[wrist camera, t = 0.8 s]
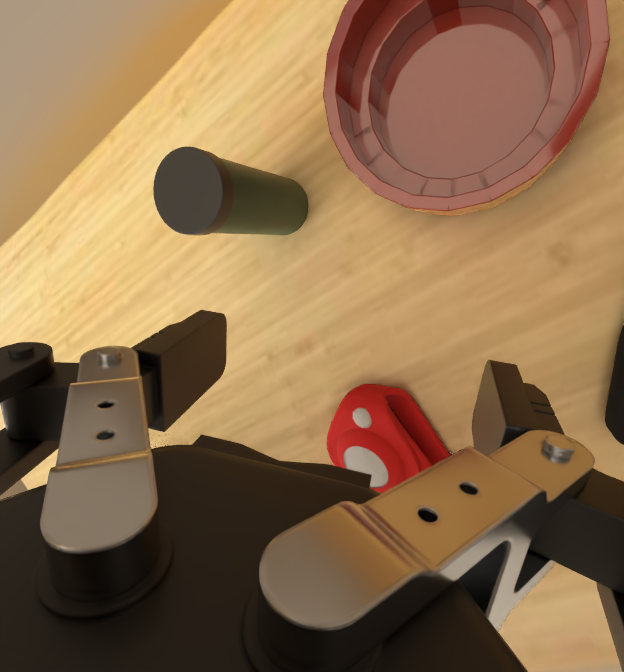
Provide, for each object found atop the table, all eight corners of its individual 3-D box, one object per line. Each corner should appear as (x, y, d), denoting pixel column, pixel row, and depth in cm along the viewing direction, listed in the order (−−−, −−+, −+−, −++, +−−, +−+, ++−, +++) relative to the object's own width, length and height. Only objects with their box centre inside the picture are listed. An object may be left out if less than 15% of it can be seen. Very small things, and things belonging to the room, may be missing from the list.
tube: (292, 163, 35) (196, 128, 24) (320, 217, 35) (237, 206, 24) (247, 197, 37) (140, 178, 26) (274, 247, 37) (177, 250, 26)
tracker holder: (328, 497, 38) (306, 397, 34) (353, 464, 41) (335, 370, 38) (473, 547, 31) (466, 428, 27) (490, 503, 34) (485, 391, 30)
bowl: (517, -86, 27) (522, -169, 21) (631, 131, 27) (665, 103, 21) (319, 77, 33) (283, 45, 27) (411, 254, 33) (393, 256, 27)
